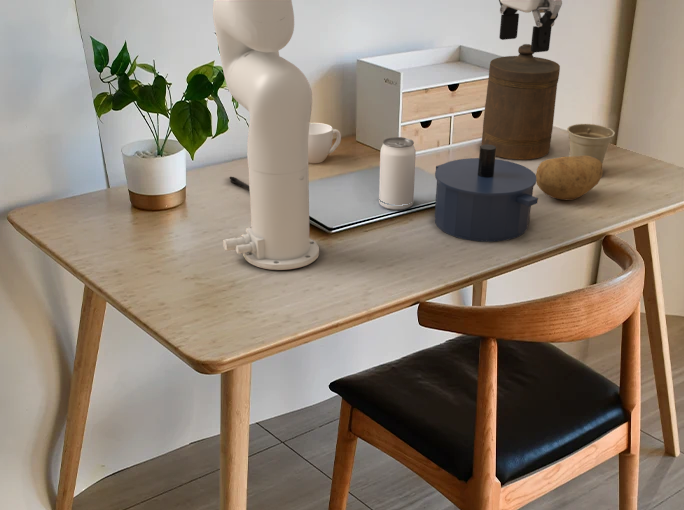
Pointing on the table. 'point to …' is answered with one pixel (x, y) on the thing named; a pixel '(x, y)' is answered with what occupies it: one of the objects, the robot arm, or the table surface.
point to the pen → (239, 183)
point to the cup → (321, 141)
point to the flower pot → (589, 140)
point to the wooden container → (520, 105)
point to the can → (397, 173)
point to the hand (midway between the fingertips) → (523, 45)
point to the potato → (568, 176)
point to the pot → (482, 214)
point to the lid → (485, 175)
